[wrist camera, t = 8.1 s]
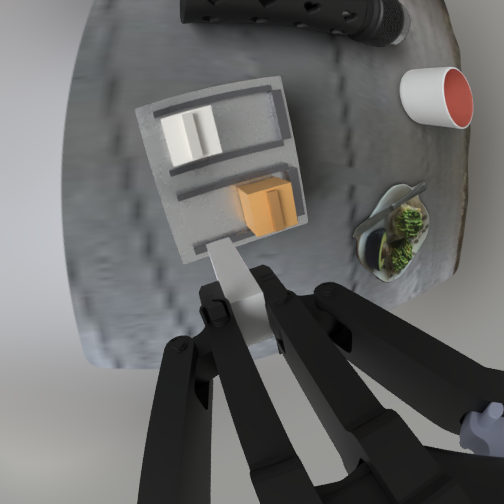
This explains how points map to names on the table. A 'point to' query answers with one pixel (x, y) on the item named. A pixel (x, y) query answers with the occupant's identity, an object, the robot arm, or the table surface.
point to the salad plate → (393, 232)
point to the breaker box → (223, 162)
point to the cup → (437, 97)
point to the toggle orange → (268, 205)
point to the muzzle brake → (310, 16)
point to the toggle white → (191, 135)
